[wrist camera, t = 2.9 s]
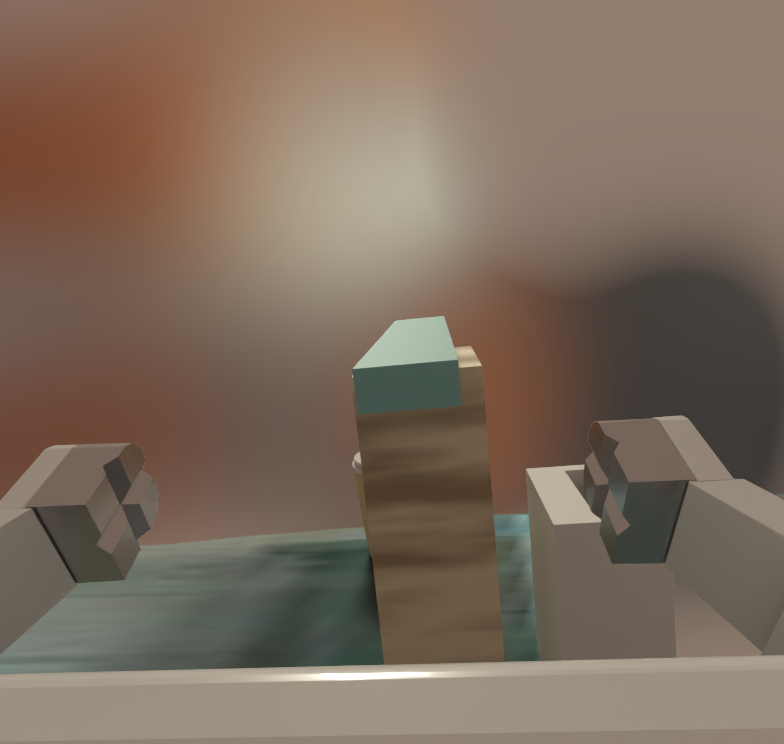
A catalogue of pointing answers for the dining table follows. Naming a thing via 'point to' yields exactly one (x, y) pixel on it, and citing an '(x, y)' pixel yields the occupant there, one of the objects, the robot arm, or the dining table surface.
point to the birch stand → (433, 528)
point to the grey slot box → (590, 581)
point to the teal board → (409, 369)
